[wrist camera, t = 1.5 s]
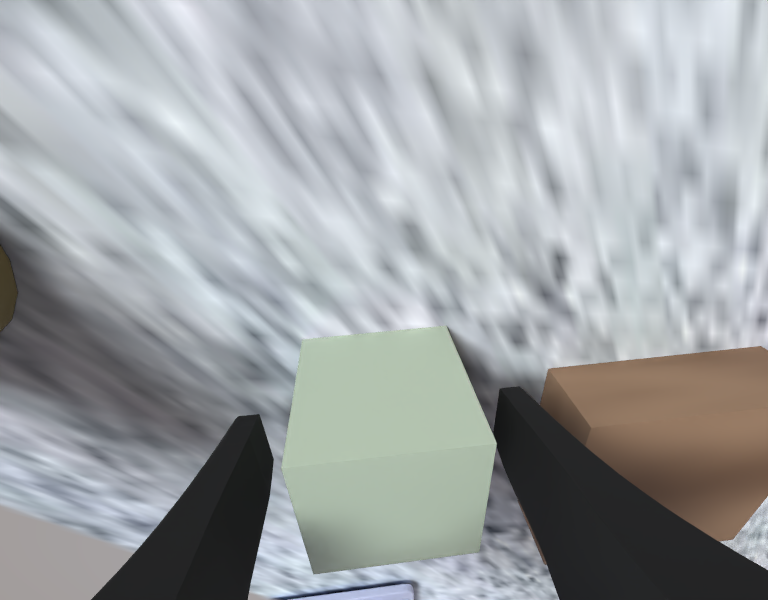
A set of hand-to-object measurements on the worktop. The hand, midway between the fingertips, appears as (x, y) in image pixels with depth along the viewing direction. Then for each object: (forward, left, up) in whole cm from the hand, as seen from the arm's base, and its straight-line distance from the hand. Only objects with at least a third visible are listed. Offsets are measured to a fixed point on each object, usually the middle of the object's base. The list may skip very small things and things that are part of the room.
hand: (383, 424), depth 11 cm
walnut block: (-4, -10, -2) cm, 11 cm away
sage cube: (0, 0, -2) cm, 2 cm away
